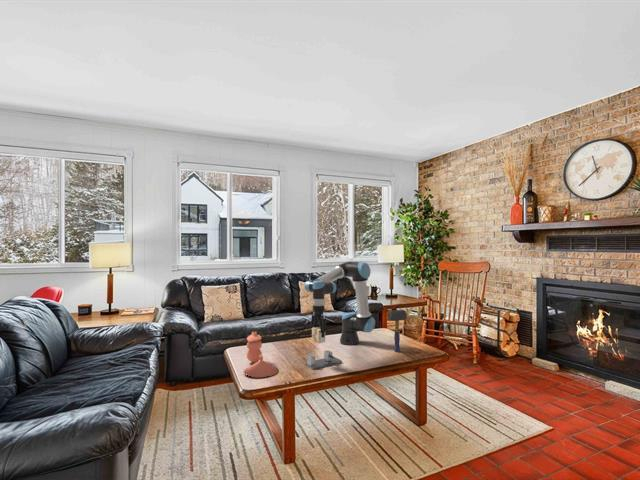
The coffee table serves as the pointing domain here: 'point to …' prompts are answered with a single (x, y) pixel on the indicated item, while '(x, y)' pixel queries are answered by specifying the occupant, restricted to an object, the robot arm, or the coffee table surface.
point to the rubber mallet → (397, 324)
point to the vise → (320, 362)
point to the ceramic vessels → (254, 355)
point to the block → (316, 334)
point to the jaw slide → (328, 355)
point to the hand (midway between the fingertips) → (318, 340)
